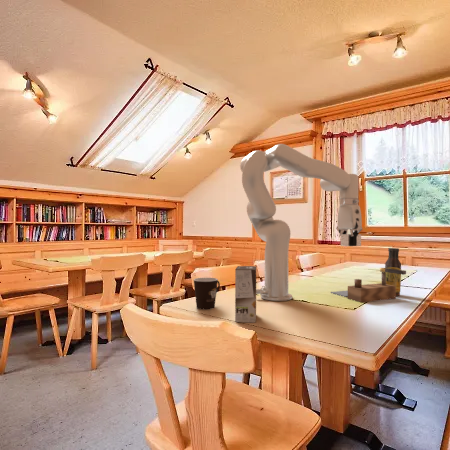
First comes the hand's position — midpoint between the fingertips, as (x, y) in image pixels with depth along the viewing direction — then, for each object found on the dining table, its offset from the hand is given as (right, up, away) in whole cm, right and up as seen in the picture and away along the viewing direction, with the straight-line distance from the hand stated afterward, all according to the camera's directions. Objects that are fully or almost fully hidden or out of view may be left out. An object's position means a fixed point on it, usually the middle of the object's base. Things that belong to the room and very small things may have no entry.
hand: (348, 245), depth 140 cm
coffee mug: (-59, -21, -23) cm, 66 cm away
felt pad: (0, -21, 0) cm, 21 cm away
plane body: (+6, -21, -9) cm, 24 cm away
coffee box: (-46, -21, -37) cm, 63 cm away
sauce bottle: (+18, -21, -2) cm, 28 cm away
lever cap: (+1, 0, 0) cm, 1 cm away
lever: (+14, -10, -10) cm, 20 cm away
